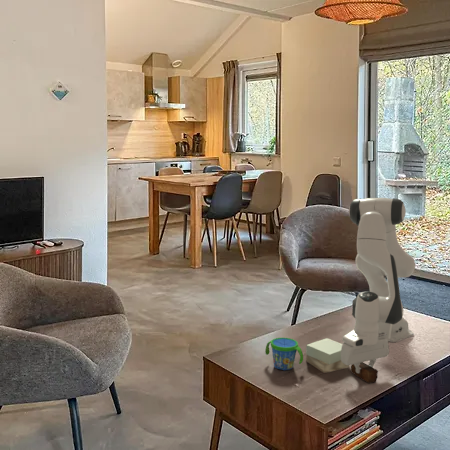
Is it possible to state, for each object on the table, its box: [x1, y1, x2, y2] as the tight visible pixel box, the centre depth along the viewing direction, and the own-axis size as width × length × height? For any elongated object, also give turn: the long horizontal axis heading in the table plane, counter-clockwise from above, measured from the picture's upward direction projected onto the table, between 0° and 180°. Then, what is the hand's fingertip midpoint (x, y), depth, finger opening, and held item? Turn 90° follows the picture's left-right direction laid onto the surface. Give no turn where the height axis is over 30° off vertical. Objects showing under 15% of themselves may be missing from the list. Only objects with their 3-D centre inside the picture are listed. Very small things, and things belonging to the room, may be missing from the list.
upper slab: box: [305, 337, 343, 364], centre depth 217 cm, size 12×12×4 cm
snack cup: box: [265, 337, 304, 372], centre depth 214 cm, size 16×10×10 cm
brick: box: [350, 362, 379, 384], centre depth 206 cm, size 11×4×5 cm, turn 26°
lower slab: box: [305, 355, 350, 374], centre depth 217 cm, size 12×12×4 cm
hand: (364, 371), depth 206 cm, fingers closed on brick, 4 cm apart
